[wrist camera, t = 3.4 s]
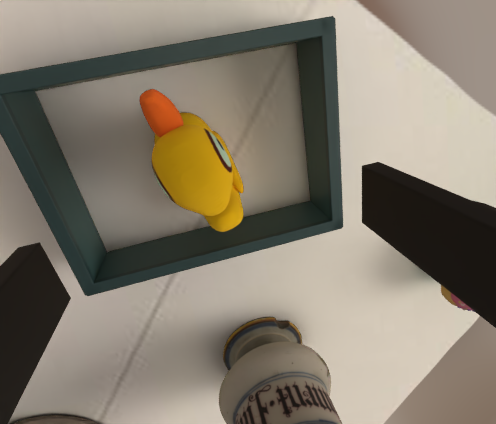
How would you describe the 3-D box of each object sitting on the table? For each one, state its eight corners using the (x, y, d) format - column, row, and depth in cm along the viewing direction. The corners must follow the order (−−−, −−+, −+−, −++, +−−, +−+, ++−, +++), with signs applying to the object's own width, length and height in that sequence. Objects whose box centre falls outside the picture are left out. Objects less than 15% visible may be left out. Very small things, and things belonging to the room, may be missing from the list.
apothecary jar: (324, 316, 37) (438, 499, 21) (286, 385, 40) (358, 587, 24) (232, 301, 33) (285, 513, 17) (200, 379, 37) (217, 615, 20)
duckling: (125, 105, 23) (91, 119, 14) (186, 72, 23) (190, 65, 14) (199, 218, 28) (208, 282, 19) (249, 191, 28) (282, 242, 19)
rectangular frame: (100, 262, 28) (85, 297, 23) (15, 79, 21) (-29, 79, 17) (319, 206, 30) (343, 228, 26) (305, 28, 24) (335, 15, 19)
